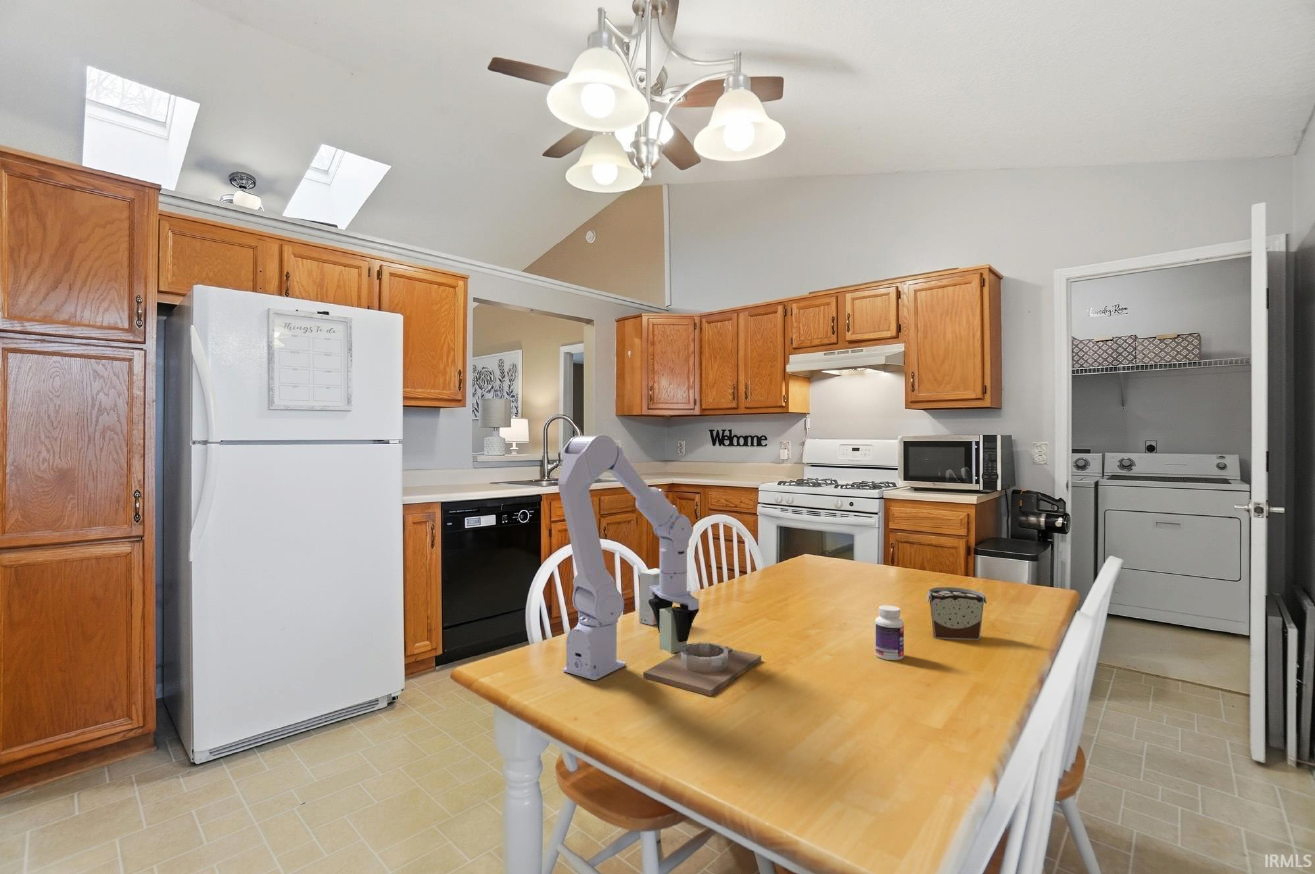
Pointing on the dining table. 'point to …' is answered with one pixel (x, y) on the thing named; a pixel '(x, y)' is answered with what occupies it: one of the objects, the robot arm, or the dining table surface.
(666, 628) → the sage peg
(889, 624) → the pill bottle
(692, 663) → the cup bracket
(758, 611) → the dining table surface
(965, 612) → the food container
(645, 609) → the skincare box
